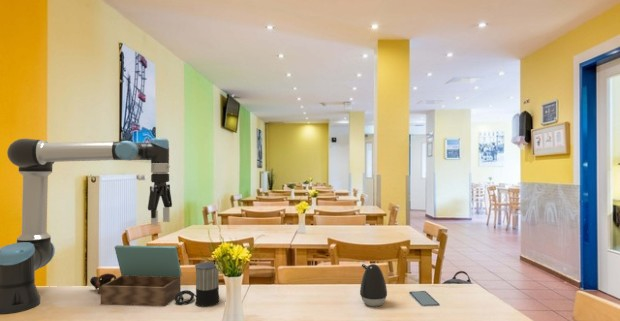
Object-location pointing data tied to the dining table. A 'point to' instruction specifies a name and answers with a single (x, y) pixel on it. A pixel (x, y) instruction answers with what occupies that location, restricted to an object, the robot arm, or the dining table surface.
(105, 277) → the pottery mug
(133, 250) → the lid
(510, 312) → the dining table surface
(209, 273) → the milk frother
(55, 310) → the dining table surface
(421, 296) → the smartphone
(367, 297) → the pump dispenser
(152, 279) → the storage box
